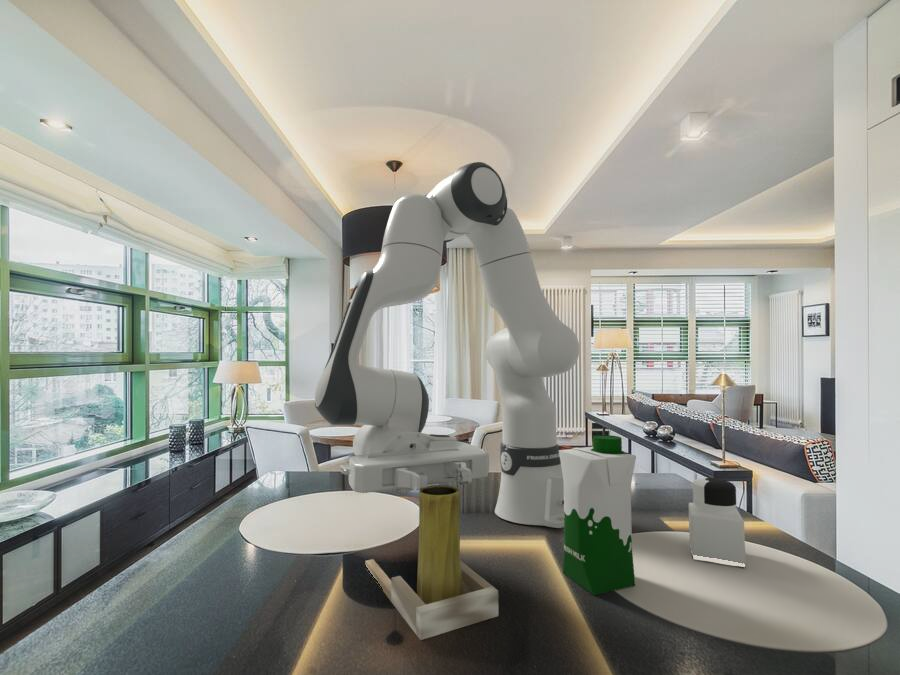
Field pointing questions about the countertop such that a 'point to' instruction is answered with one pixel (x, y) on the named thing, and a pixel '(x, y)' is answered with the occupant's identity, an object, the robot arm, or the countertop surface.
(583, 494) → the milk carton
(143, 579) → the countertop surface
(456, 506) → the vase
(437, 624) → the frame
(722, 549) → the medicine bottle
